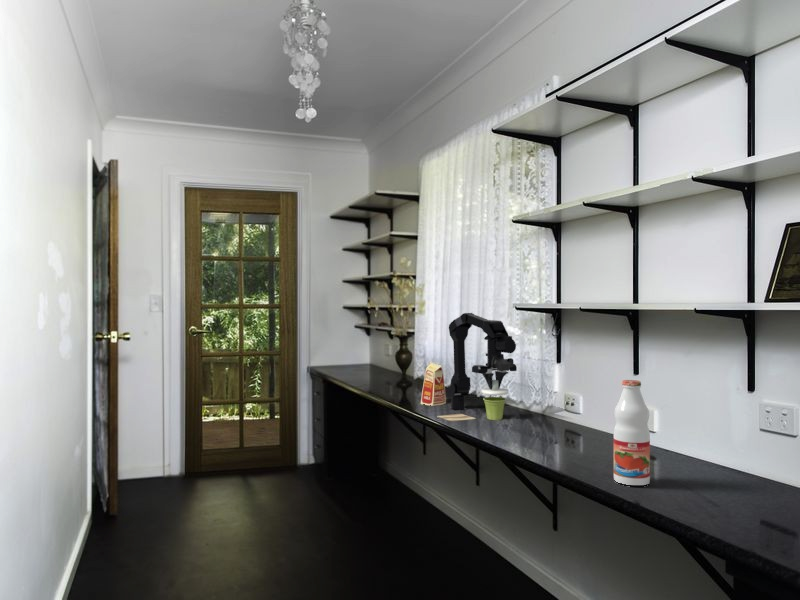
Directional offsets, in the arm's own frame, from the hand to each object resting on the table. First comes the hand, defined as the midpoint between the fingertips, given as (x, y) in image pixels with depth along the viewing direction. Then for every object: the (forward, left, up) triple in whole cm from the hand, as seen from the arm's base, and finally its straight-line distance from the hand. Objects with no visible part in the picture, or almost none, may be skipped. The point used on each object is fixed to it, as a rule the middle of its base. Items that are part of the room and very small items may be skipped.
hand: (494, 389), depth 261 cm
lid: (0, 0, -2) cm, 2 cm away
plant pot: (0, 0, -13) cm, 13 cm away
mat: (-9, -13, -13) cm, 20 cm away
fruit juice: (+89, -16, -13) cm, 91 cm away
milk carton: (-44, -4, -13) cm, 46 cm away
